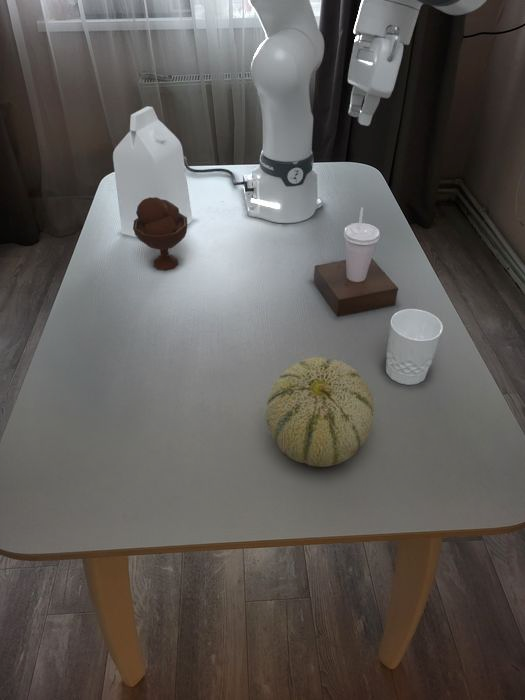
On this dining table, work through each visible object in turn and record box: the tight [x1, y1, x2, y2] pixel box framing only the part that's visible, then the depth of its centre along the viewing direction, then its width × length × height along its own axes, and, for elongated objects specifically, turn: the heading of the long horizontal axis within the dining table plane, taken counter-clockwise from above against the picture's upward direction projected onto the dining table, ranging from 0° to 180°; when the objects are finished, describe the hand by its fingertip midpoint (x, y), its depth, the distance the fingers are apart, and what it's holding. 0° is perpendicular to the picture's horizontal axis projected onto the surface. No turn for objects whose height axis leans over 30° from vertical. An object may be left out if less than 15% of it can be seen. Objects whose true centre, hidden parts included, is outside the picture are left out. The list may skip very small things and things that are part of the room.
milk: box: [112, 105, 194, 238], centre depth 120 cm, size 12×12×26 cm
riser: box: [313, 258, 399, 318], centre depth 108 cm, size 12×12×4 cm
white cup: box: [385, 308, 444, 386], centre depth 89 cm, size 8×8×10 cm
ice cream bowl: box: [133, 197, 188, 271], centre depth 112 cm, size 11×11×15 cm
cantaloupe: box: [265, 356, 375, 468], centre depth 75 cm, size 15×15×15 cm
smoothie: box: [343, 207, 381, 282], centre depth 102 cm, size 6×6×14 cm
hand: (357, 120), depth 92 cm, fingers open, 8 cm apart
